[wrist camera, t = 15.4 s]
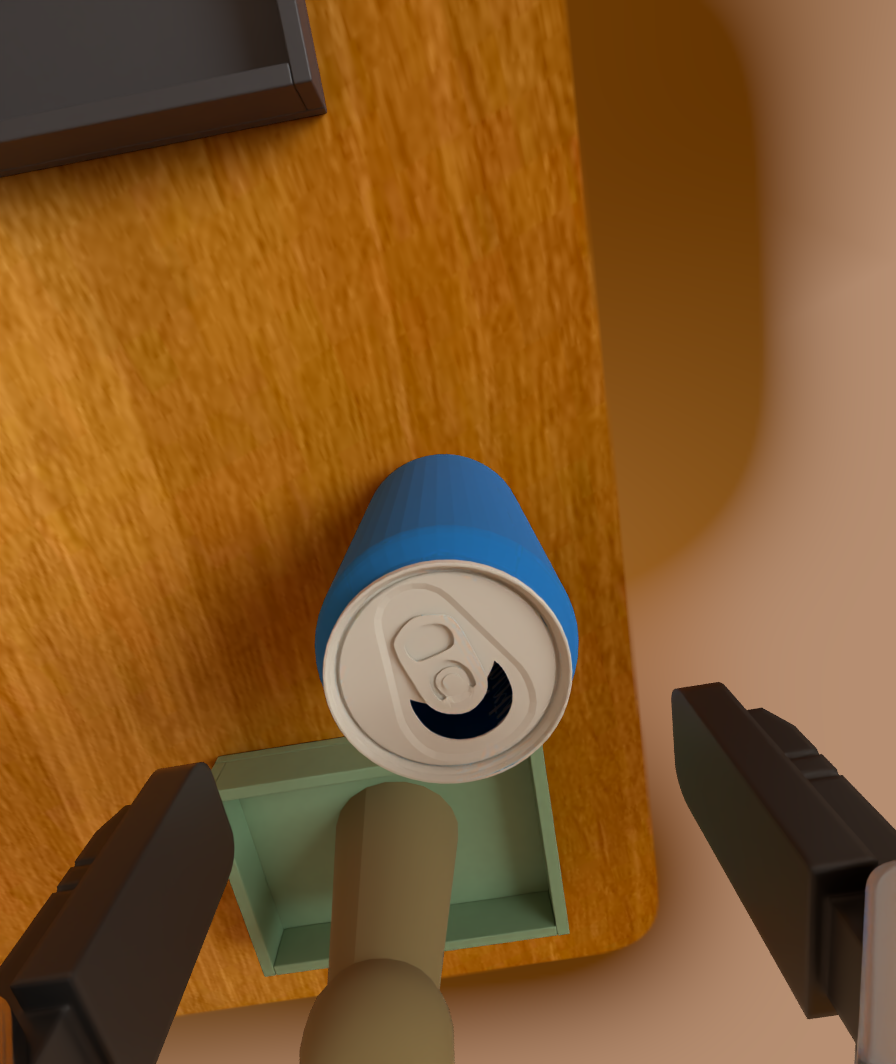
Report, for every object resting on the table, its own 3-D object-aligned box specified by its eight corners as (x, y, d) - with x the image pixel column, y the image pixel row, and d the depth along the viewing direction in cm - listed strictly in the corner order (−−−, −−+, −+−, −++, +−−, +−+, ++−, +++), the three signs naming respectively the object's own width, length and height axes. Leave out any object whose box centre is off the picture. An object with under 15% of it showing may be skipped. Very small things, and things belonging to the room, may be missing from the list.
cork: (468, 869, 29) (484, 1160, 19) (351, 887, 29) (302, 1184, 19) (446, 772, 27) (451, 1032, 17) (322, 792, 28) (251, 1060, 17)
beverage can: (412, 620, 26) (390, 837, 14) (338, 494, 24) (245, 624, 12) (544, 558, 25) (635, 732, 13) (478, 423, 23) (517, 490, 12)
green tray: (532, 706, 27) (541, 740, 25) (559, 888, 30) (569, 934, 28) (218, 756, 28) (197, 794, 25) (277, 929, 31) (264, 977, 28)
